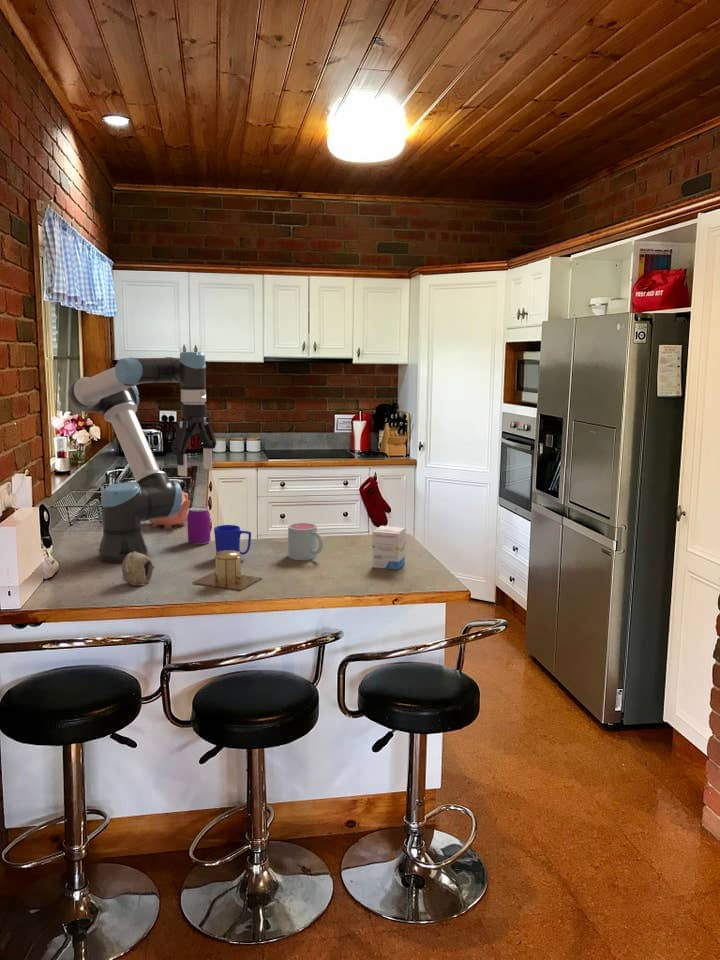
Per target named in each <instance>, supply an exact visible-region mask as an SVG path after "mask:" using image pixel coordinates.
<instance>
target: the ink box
mask: <svg viewBox="0 0 720 960" xmlns="http://www.w3.org/2000/svg"><path fill="white" fill-rule="evenodd" d="M371 534H372V539H371V540H372V548H371V549H372V561H371V562H372V563H371V564H372V565H371V566H372V568H373V569H374V568H376V569H377V568H378V569H388V570H395V571H397V570H399V569H401V567H403V566H404V565H405V563H406V562H405V561H406V528H405V527H397V526H388V525H380V526H379V527H377V528H376V529H374V530H373V531H372V533H371Z"/></svg>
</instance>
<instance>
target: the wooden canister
mask: <svg viewBox="0 0 720 960" xmlns="http://www.w3.org/2000/svg"><path fill="white" fill-rule="evenodd" d="M214 561H215V571H216V572H214V571H213V572H214V577H216V581H217V582H218V583H223V584H226V583H227V584H231V583H237V582H239V581H241V580H243V576H242V575H243V574H242V571H241V569H242V565H241V564H242V563H241V554H240V552H238V551H234V550H225V551H220V552H217V553H216V552H215V560H214Z"/></svg>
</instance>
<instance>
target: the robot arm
mask: <svg viewBox="0 0 720 960" xmlns="http://www.w3.org/2000/svg"><path fill="white" fill-rule="evenodd" d="M156 383H157V384H160V383H161V384H162V383H180V402H181V407H180V408H181V416H182V417H184V420H178V421H177V429H176V433H175V435H174V436H175V437H174V441H173V445H172V448H171V453H172V454H174V455H176V462H177V463H176V464H177V476H181V477H187V476H188V462H187V460H188V459H187V456H188V455H187V454H186V450H187V449H188V446H189V444H190V442H191V439H192V438H193V437H194V436H195V435H198V438H199V439H200V441H201V442H202V444H203V446H204V448H203V449H202V451H203V453H202V454H203V456H202V458H203V469H204V470H213V449H216V446H217V441H216V438H215V434H214V431H213V428H212V425H211V424H212V423H211V418H210V417H207V415H208V414H207V413H208V411H207V410H208V409H207V404H206V402H207V390H206V389H207V365H206V356H205V353H204V352H203V351H182V352H180V354H179V357H172V356H167V357H166V356H165V357H126V358H125V357H124V358H119V359H118V361H117V363H116V364H115V366H114V367H111V368H108V369H107V370H104V371H102V372H100V373H97V374H95V375H92V376H91V377H89V376H83V377H80V378H78V379H76V380H74V381H73V382H72V383H71V384H70V385H69V387H68V390H67V398H68V401H69V402H70V404H71V405H72V406H73V407H74V408H75V409H76V410H78V411H80V412H83V413H87V414H88V413H89V414H91V413H93V414H95V413H101V414H102V416H103V419H104V421H106V422H108V423H110V424H111V426H112V428H113V430H114V433H115V435H116V438H117V439H118V442H119V444H120V447H121V449H122V451H123V453H124V457H125V459H126V461H127V464H128V466H129V468H130V470H131V473H132V476H133V478H134V480H135V481H124V482H117V483H114V484H111V485H110V484H109V486H106V487H105V488H103V490H102V491H101V500H100V506H101V515H102V516H101V518H102V538H101V541H100V544H99V545H100V546H99V548H98V554H97V555H98V560H99V561H101V562H104V563H114V564H115V563H117V564H118V563H121V564H122V563H123V560H124V558H125V557H126V556H127V555H128V554H129V553H133V552H134V551H135V552H138V553H141V554H144V555H146V556H147V557H148V552H149V551H148V546H147V545H146V542H145V539H144V535H143V534H142V522H147V521H149V520H153V519H159V518H166V517H169V516H173V515H175V514H177V513H178V512H179V510H180V508H181V506H182V500H183V494H182V493H183V490H182V487H181V485H180V483H179V482H177V481H176V480H170V479H169V476H168V474H167V473H166V471H162V470H161V469H160V467H159V465H158V462H157V460H156V457H155V455H154V452H153V451H152V449H151V446H150V445H149V442H148V439H147V437H146V435H145V433H144V430H143V428H142V426H141V424H140V421H139V420H138V417H137V415H136V413H137V411H138V406H139V405H140V404H139V403H140V397H139V395H140V393H139V390H138V388H137V386H138V385H140V384H156Z"/></svg>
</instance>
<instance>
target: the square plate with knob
mask: <svg viewBox="0 0 720 960" xmlns="http://www.w3.org/2000/svg"><path fill="white" fill-rule="evenodd" d="M214 572H216V570H214V571H213V572H210V573H208V574H207V575H204V576H202V577H200V578H198V579H196V580H194V581H192V583H195V584H194V585H199V584H202V585H201V586H205V585H208V587H212V586H213V588H220V589H225V590H232V591H233V590H234V591H238V592H241V591H243V590H245V589H247V588H248V587H250V586H252V585H253V584H255V583H257V582H259V581H262V580H263V577H260V576H253V575H245V574H241V575H242V576H243V580H241V581H239V582H237V583H231V584H227V583H226V584H223V583H218V582H217V581H216V577H214Z"/></svg>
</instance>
